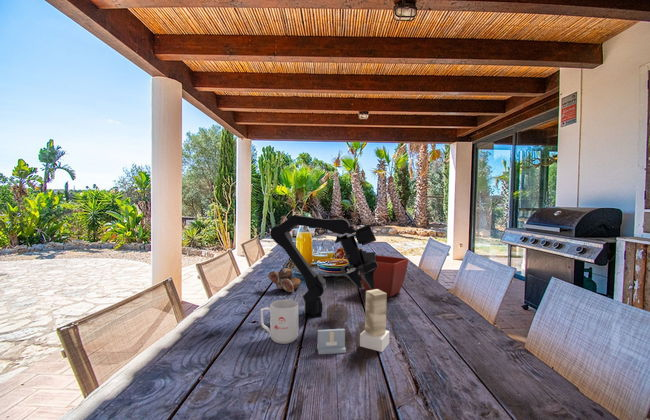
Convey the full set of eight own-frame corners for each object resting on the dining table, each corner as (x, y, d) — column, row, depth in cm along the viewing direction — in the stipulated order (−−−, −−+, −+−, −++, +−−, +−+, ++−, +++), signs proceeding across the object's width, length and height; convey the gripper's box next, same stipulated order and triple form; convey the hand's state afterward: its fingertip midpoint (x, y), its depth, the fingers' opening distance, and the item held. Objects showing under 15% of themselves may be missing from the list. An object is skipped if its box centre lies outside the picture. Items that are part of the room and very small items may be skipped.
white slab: (359, 347, 91) (360, 334, 91) (368, 338, 98) (368, 326, 97) (382, 352, 88) (382, 339, 88) (389, 343, 94) (389, 330, 94)
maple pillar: (364, 330, 94) (365, 291, 93) (376, 327, 96) (377, 288, 95) (373, 336, 90) (374, 295, 89) (385, 333, 92) (386, 293, 91)
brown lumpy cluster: (265, 274, 157) (269, 271, 143) (294, 265, 163) (301, 261, 150) (272, 299, 154) (277, 298, 141) (301, 289, 161) (308, 287, 147)
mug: (299, 333, 100) (299, 299, 100) (296, 345, 92) (297, 308, 91) (263, 332, 101) (263, 299, 100) (257, 344, 92) (257, 308, 92)
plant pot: (374, 285, 162) (374, 254, 162) (408, 292, 151) (409, 258, 151) (356, 293, 146) (356, 259, 146) (393, 301, 135) (393, 264, 135)
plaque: (318, 354, 86) (318, 333, 86) (316, 347, 90) (317, 328, 90) (345, 352, 87) (346, 332, 87) (342, 346, 91) (343, 326, 91)
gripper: (381, 239, 110) (397, 279, 110) (356, 244, 127) (369, 279, 126) (356, 250, 105) (373, 292, 105) (334, 254, 122) (348, 290, 121)
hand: (366, 288), depth 114 cm, fingers open, 9 cm apart
